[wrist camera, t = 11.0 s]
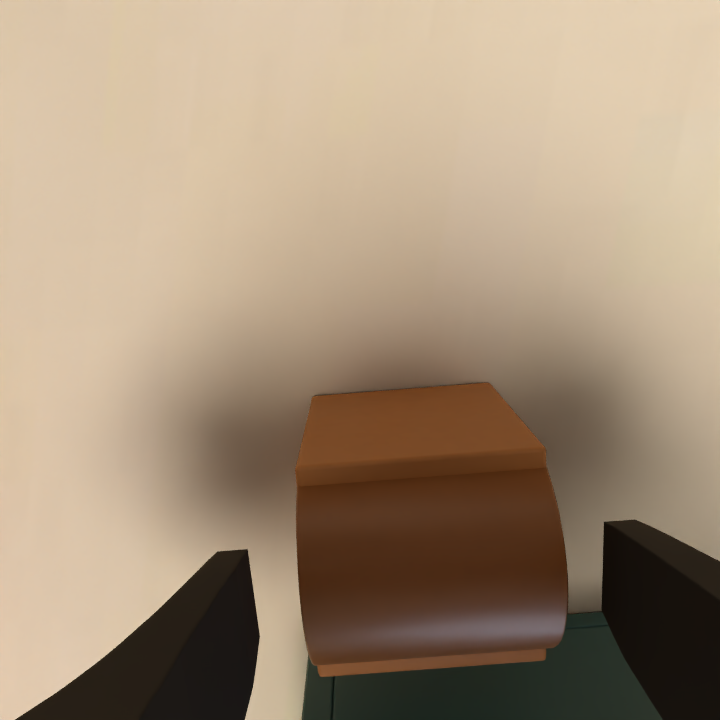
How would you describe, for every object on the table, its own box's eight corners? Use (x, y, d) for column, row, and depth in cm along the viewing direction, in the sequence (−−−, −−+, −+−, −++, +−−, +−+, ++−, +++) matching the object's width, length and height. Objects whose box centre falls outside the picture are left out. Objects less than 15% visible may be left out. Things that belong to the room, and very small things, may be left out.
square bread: (490, 381, 16) (570, 473, 10) (494, 541, 17) (567, 708, 11) (311, 395, 16) (286, 496, 10) (328, 553, 17) (314, 727, 11)
